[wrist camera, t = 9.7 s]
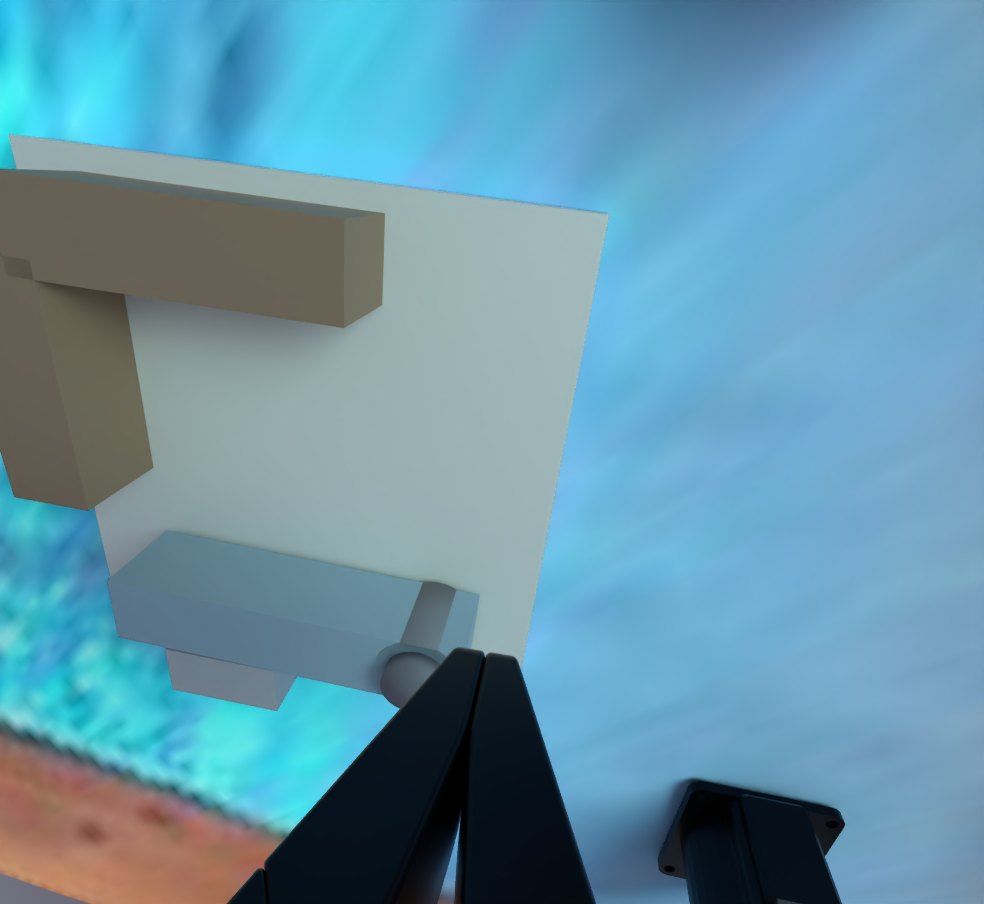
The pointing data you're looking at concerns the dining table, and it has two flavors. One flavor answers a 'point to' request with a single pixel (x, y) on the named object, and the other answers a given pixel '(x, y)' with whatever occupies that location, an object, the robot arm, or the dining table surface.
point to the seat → (292, 370)
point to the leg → (291, 614)
